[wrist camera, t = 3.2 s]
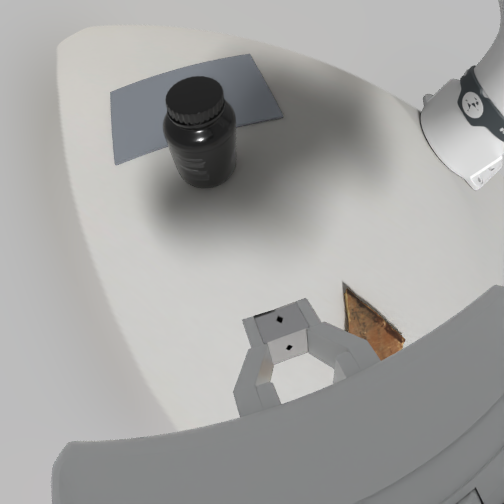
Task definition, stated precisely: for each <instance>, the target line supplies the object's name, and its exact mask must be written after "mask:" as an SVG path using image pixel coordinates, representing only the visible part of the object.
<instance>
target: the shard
mask: <svg viewBox="0 0 504 504" xmlns="http://www.w3.org/2000/svg"><path fill="white" fill-rule="evenodd" d="M344 296H345V303H346V311H347V316H348V324H349V330H348V332H349V333H351V334H353V335H355V336H358V337H360V338H362V339H365V340H367V341H368V343H369V344H370V345H371V347H372V348H373V350H374V351H375V353H376V354H377V356H378V357H379V359H380V360H381V361H382V360H384V359H386V358H387V357H389V356H391V355H393V354H395V353H397V352H398V351H400V350H402V348H403V344H404V342H405V339H404V338H403V337H402V336H401V335H400V334H399V333H398V332H397V331H396V330H394V329H393V328H392V327H391V326H390V325H389V324H388V323H387V322H386V321H385V320H384V319H383V318H382V317H381V316H379V315H378V314H377V313H376V312H375V311H373V310H372V309H371V308H370V307H368V306H367V305H366V304H364V303H362V302H361V301H360V300H359V299H358V298H357V297H356V296H355V295H354V293H352V292H351V291H349V290H348V289H346V294H344Z"/></svg>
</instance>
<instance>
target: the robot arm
mask: <svg viewBox="0 0 504 504" xmlns="http://www.w3.org/2000/svg"><path fill="white" fill-rule="evenodd" d="M499 5H500V12H501V23H500V29H499V33H498V35H497V37H496V39H495V41H494V43H493V44H492V46H491V48H490V49H489V50H488V52H487V53H486V54H485V56H484V57H483V58H482V60H481V61H480V62H479V63H478V64H477V65H476V66H472V67H471V68H470V69H468V70H467V71H466V72H465V73H464V75H463V76H462V78H461V79H460V80H457V79H450V80H449V81H448V82H447V83H446V84H445V85H444V86H443V87H442V88H441V89H440V90H439V91H438V92H437V93H436V94H435V95H431V94H426V95H425V96H424V97H423V102H424V108H423V110H422V112H421V125H422V129H423V131H424V134H425V136H426V138H427V140H428V142H429V144H430V146H431V147H432V149H433V150H434V152H435V153H436V154H437V156H438V157H439V158H440V159H441V161H442V162H443V163H444V164H445V165H446V166H447V167H448V168H449V169H451V170H452V171H453V172H455V173H456V174H458V175H459V176H461V177H462V178H464V179H465V180H466V181H467V182H468V184H469V185H470V186H471V187H472V188H473V189H474V190H478V189H480V188H481V187H482V186H483V185H484V184H485V183H486V182H487V181H488V180H489V179H490V178H491V177H492V176H493V175H494V174H495V173H496V172H497V171H498V170H499V169H500V168H501V167H502V166H503V163H502V155H503V154H504V0H499ZM242 321H243V325H244V328H245V331H246V333H247V336H248V339H249V342H250V345H251V349H248V352H247V355H246V358H245V360H244V363H243V366H242V369H241V372H240V374H239V377H238V380H237V383H236V385H235V388H234V391H233V393H234V397H235V401H236V404H237V408H238V411H239V415H240V418H236V419H233V420H229V421H225V422H221V423H217V424H213V425H209V426H204V427H200V428H195V429H190V430H185V431H179V432H174V433H168V434H163V435H155V436H149V437H140V438H131V439H120V440H106V441H74V442H69V443H68V444H67V445H66V446H65V447H64V449H63V450H62V451H61V453H60V454H59V456H58V457H57V459H56V461H55V462H54V465H53V469H52V478H51V482H52V483H51V488H52V504H504V287H503V286H499V285H494V286H492V287H491V288H489V289H488V290H487V291H486V292H485V293H483V294H482V295H481V296H480V297H478V298H477V299H476V300H475V301H473V302H472V303H471V304H469V305H468V306H467V307H465V308H464V309H463V310H461V311H460V312H459V313H457V314H456V315H455V316H453V317H452V318H450V319H449V320H447V321H446V322H445V323H443V324H442V325H440V326H439V327H437V328H436V329H434V330H433V331H431V332H430V333H428V334H426V335H425V336H423V337H422V338H420V339H418V340H417V341H415V342H414V343H412V344H410V345H409V346H407V347H405V348H403V349H402V350H400V351H398V352H397V353H395V354H393V355H391V356H389V357H387V358H386V359H384V360H382V361H381V360H380V359H379V357H378V356H377V354H376V353H375V351H374V350H373V348H372V347H371V345H370V344H369V343H368V341H367V340H365V339H362V338H360V337H358V336H355V335H353V334H351V333H349V332H346V331H344V330H342V329H340V328H338V327H335V326H333V325H331V324H329V323H327V322H321V321H320V319H319V318H318V316H317V314H316V313H315V311H314V309H313V308H312V306H311V305H310V303H309V301H308V300H307V299H306V298H304V299H301V300H299V301H296V302H293V303H290V304H287V305H285V306H282V307H279V308H276V309H274V310H271V311H268V312H265V313H262V314H259V315H255V316H253V317H249V318H246V319H243V320H242ZM307 352H309V354H311V355H313V356H314V357H316V358H317V359H319V360H321V361H322V362H324V363H325V364H327V365H329V366H330V367H332V368H334V369H335V371H334V379H333V384H332V385H330V386H328V387H325V388H323V389H321V390H318V391H316V392H313V393H311V394H308V395H306V396H303V397H300V398H298V399H295V400H292V401H290V402H287V403H284V404H281V402H280V400H279V397H278V395H277V392H276V390H275V387H274V385H273V383H271V382H270V380H271V376H272V372H273V368H274V365H275V364H277V363H280V362H283V361H285V360H288V359H290V358H293V357H296V356H299V355H302V354H305V353H307Z"/></svg>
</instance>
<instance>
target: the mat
mask: <svg viewBox="0 0 504 504" xmlns="http://www.w3.org/2000/svg"><path fill="white" fill-rule="evenodd" d="M192 76H205V77H209V78H213V79H214V80H217V82H218V83H220V85H221V86H222V89H223V91H224V99H225V100H226V101H227V102H228V103H229V104H230V105H231V106H232V108H233V110H234V112H235V116H236V127H240V126H244V125H248V124H253V123H257V122H262V121H267V120H272V119H278V118H283V114H282V112H281V110H280V108H279V106H278V104H277V102H276V101H275V99H274V97H273V95H272V93H271V91H270V89H269V87H268V86H267V84H266V82H265V80H264V78H263V76H262V75H261V73H260V71H259V69H258V68H257V66H256V64H255V62H254V61H253V59H252V57H251V55H250V54H246V55H239V56H233V57H228V58H223V59H218V60H213V61H208V62H204V63H199V64H195V65H191V66H187V67H183V68H180V69H176V70H173V71H169V72H166V73H162V74H159V75H156V76H153V77H150V78H147V79H144V80H141V81H138V82H136V83H133V84H130V85H128V86H125V87H122V88H120V89H117V90H115V91H112V92H110V99H111V123H112V138H113V150H114V160H115V165H119V164H121V163H124V162H126V161H129V160H131V159H134V158H137V157H139V156H142V155H145V154H148V153H150V152H153V151H156V150H159V149H162V148H165V147H168V144H167V142H166V139H165V136H164V133H163V120H164V117H165V115H166V113H167V107H166V102H165V99H166V95H167V92H168V91H169V90H170V88H171V87H172V86H173V85H174V84H176V83H177V82H179V81H181V80H182V79H186V78H188V77H192Z"/></svg>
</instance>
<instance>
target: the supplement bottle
mask: <svg viewBox="0 0 504 504" xmlns="http://www.w3.org/2000/svg"><path fill="white" fill-rule="evenodd" d="M165 102H166V107H167V113H166V115H165V117H164V120H163V133H164V136H165V139H166V142H167V144H168V147H169V149H170V152H171V154H172V157H173V159H174V162H175V164H176V167H177V169H178V171H179V174H180V175H181V177H182V178H183V179H184V180H185V181H186V182H187V183H189V184H190V185H192V186H195V187H199V188H210V187H214V186H217V185H219V184H221V183H223V182H224V181H226V180H227V179H228V178H229V177H230V176H231V174H232V173H233V171H234V168H235V165H236V116H235V112H234V110H233V108H232V106H231V105H230V104H229V103H228V102H227V101H226V100H225V99H224V91H223V89H222V86H221V85H220V83H218V82H217V80H214V79H213V78H209V77H205V76H192V77H188V78H186V79H182V80H181V81H179V82H177V83H176V84H174V85H173V86H172V87H171V88H170V90H169V91H168V92H167V95H166V99H165Z"/></svg>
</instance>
